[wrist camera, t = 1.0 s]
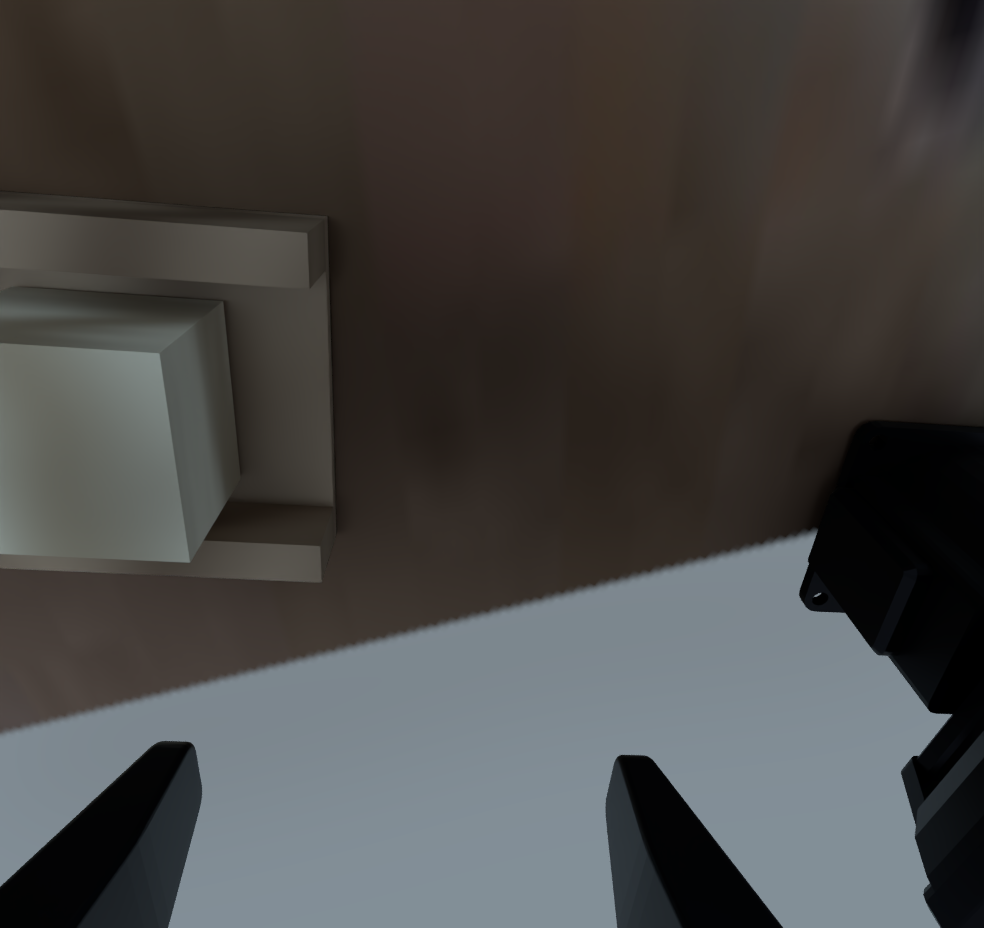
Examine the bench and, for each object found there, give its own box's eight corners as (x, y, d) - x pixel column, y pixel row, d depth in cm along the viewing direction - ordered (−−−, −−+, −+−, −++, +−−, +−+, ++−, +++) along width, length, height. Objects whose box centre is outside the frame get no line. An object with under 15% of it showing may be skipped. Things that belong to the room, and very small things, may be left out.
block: (223, 301, 17) (159, 353, 14) (240, 478, 19) (190, 562, 16) (12, 286, 17) (-110, 336, 13) (55, 468, 19) (-39, 552, 16)
